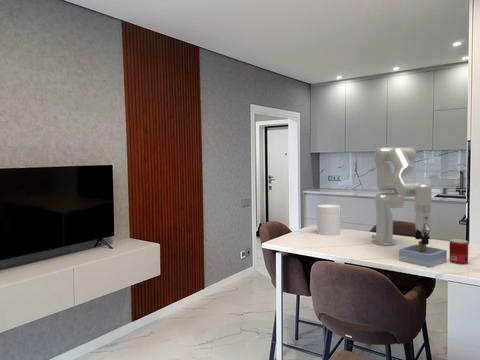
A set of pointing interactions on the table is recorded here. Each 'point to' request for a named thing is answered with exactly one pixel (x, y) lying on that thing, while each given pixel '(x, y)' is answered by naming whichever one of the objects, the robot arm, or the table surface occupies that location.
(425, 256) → the slate box
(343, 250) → the table surface
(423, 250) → the walnut peg
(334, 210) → the canister
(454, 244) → the canned food
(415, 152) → the robot arm
